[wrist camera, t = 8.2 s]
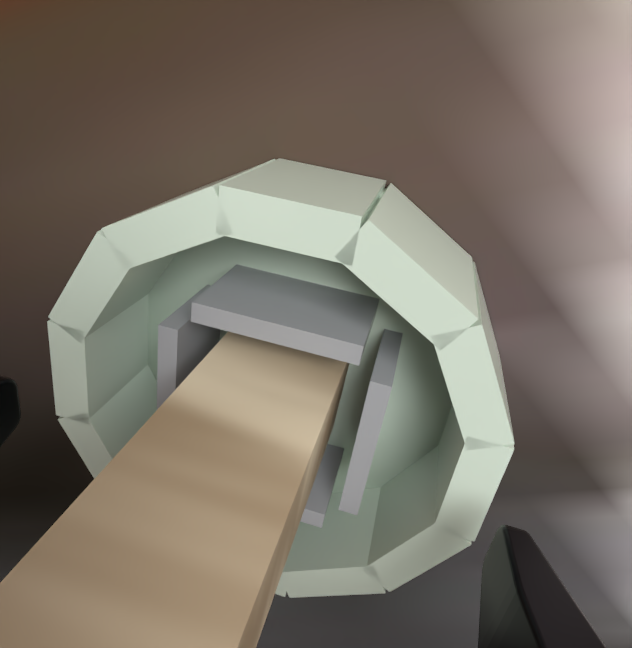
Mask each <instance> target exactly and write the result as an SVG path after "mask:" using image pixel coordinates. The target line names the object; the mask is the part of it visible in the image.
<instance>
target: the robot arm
mask: <svg viewBox="0 0 632 648" xmlns="http://www.w3.org/2000/svg"><path fill="white" fill-rule="evenodd" d="M20 416H21V412H20V404H19V396H18V389H17V384H16V383H15V381H14V380H12V379H11V378H7V377H4V376H1V375H0V447H1V445H2V444H3V443H4V442H5V440H6V439H7V438H8V437H9V435H10V434H11V433H12V432H13V431H14V429H15V428H16V427H17V425H18V423H19V420H20ZM478 648H606V646H605V645H604V643H603V642H602V641H601V639H600V638H599V636H598V635H597V633H596V632H595V630H594V629H593V627H592V626H591V624H590V623H589V621H588V620H587V618H586V617H585V615H584V614H583V612H582V611H581V610H580V608H579V607H578V605H577V604H576V602H575V601H574V599H573V598H572V596H571V595H570V593H569V592H568V590H567V589H566V587H565V586H564V584H563V583H562V581H561V580H560V579H559V577H558V576H557V574H556V573H555V571H554V570H553V568H552V567H551V565H550V564H549V562H548V561H547V559H546V558H545V556H544V555H543V553H542V552H541V550H540V549H539V547H538V546H537V545H536V543H535V542H534V540H533V539H532V537H531V536H530V534H529V533H527V532H526V531H524V530H521V529H518V528H514V527H511V526H508V525H502V526H500V527H499V529H498V530H497V532H496V534H495V537H494V539H493V541H492V543H491V545H490V548H489V550H488V552H487V554H486V556H485V559H484V563H483V569H482V583H481V601H480V620H479V639H478Z"/></svg>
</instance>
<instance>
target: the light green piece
mask: <svg viewBox="0 0 632 648" xmlns="http://www.w3.org/2000/svg"><path fill="white" fill-rule="evenodd" d="M385 184H386V180H381V179H377V178H372V177H367V176H362V175H357V174H353V173H348V172H343V171H338V170H333V169H328V168H324V167H319V166H314V165H309V164H304V163H300V162H295V161H290V160H285V159H280V158H279V159H277V160H275V159H273V160H270V161H268V162H265V163H262V164H260V165H257V166H255V167H252V168H250V169H247V170H244V171H242V172H239V173H237V174H234V175H231V176H229V177H226V178H224V179H221V180H218V181H216V182H213V183H211V184H208V185H206V186H203V187H200V188H198V189H195V190H193V191H190V192H187V193H185V194H183V195H180V196H178V197H175V198H173V199H170V200H168V201H166V202H163V203H161V204H158V205H156V206H154V207H151V208H149V209H146V210H144V211H142V212H139V213H137V214H134V215H132V216H130V217H127V218H125V219H122V220H120V221H117V222H115V223H113V224H110V225H108V226H105V227H103V228H101V229H102V230H100V231H97V233H96V235H95V237H94V238H93V240H92V242H91V243H90V245H89V247H88V249H87V250H86V252H85V254H84V256H83V257H82V259H81V261H80V262H79V264H78V266H77V268H76V269H75V271H74V273H73V275H72V276H71V278H70V280H69V281H68V283H67V285H66V287H65V288H64V290H63V292H62V294H61V295H60V297H59V299H58V301H57V302H56V304H55V306H54V307H53V309H52V311H51V313H50V314H49V316H48V317H49V318H50V320H49V321H47V324H48V335H49V346H50V357H51V367H52V378H53V389H54V399H55V410H56V415H57V416H61V417H59V418H58V421H59V423H60V424H61V426H62V427H63V429H64V431H65V432H66V434H67V435H68V437H69V439H70V440H71V442H72V444H73V445H74V447H75V448H76V450H77V452H78V453H79V455H80V457H81V458H82V460H83V461H84V463H85V465H86V466H87V468H88V469H89V471H90V473H91V474H92V476H93V478H94V479H95V478H96V477H97V476H98V474H99V473H100V472H101V471H102V470H103V469H104V468H105V467H106V466H107V465H108V463H109V462H110V461H111V460H112V459H113V458H114V457H115V456H116V455H117V454H118V452H119V451H120V450H121V449H122V448H123V447H124V446H125V445H126V444H127V442H128V441H129V440H130V439H131V438H132V437H133V436H134V435H135V434H136V433H137V431H138V430H139V429H140V428H141V427H142V426H143V425H144V424H145V423H146V422H147V420H148V419H149V418H150V417H151V416H152V415H153V414H154V413H155V412H156V411H157V409H158V408H159V407H160V406H161V405H162V404H163V403H164V402H165V401H166V399H167V398H168V397H169V396H170V395H171V394H172V393H173V392H174V391H175V390H176V388H177V387H178V386H179V385H180V384H181V383H182V382H183V381H184V380H185V379H186V377H187V376H188V375H189V374H190V373H191V372H192V371H193V370H194V369H195V368H196V366H197V365H198V364H199V363H200V362H201V361H202V360H203V359H204V358H205V357H206V355H207V354H208V353H209V352H210V351H211V350H212V349H213V348H214V347H215V345H216V344H217V343H218V342H219V341H220V340H221V339H222V338H223V337H224V336H225V334H226V333H227V332H228V331H229V332H232V333H236V334H240V335H244V336H248V337H251V338H255V339H259V340H263V341H267V342H271V343H274V344H278V345H282V346H286V347H290V348H293V349H297V350H301V351H305V352H309V353H313V354H316V355H320V356H324V357H328V358H332V359H335V360H339V361H343V362H347V363H349V367H348V371H347V375H346V379H345V383H344V387H343V391H342V395H341V399H340V403H339V407H338V410H337V414H336V418H335V422H334V426H333V429H332V432H331V435H330V438H329V441H328V443H327V446H326V449H325V452H324V455H323V458H322V461H321V463H320V466H319V469H318V472H317V475H316V478H315V481H314V483H313V486H312V489H311V492H310V495H309V498H308V501H307V503H306V506H305V509H304V512H303V515H302V518H301V521H300V523H299V526H298V529H297V532H296V535H295V538H294V541H293V543H292V546H291V549H290V552H289V555H288V558H287V561H286V563H285V566H284V569H283V572H282V575H281V578H280V580H279V583H278V586H277V589H276V592H275V594H277V595H280V596H283V597H285V596H286V593H287V594H288V596H289V598H295V597H316V596H338V595H359V594H380V593H386V589H387V590H388V591H389V592H391V591H393V590H394V589H396V588H398V587H399V586H401V585H403V584H405V583H406V582H408V581H410V580H411V579H413V578H415V577H417V576H418V575H420V574H422V573H424V572H425V571H427V570H429V569H430V568H432V567H434V566H436V565H437V564H439V563H441V562H442V561H444V560H446V559H448V558H449V557H451V556H453V555H455V554H456V553H458V552H460V551H461V550H463V549H465V548H467V547H468V546H470V545H471V541H475V539H476V537H477V534H478V532H479V530H480V527H481V525H482V523H483V520H484V518H485V516H486V514H487V511H488V509H489V507H490V504H491V502H492V500H493V497H494V495H495V493H496V490H497V488H498V486H499V483H500V481H501V479H502V476H503V474H504V472H505V470H506V467H507V465H508V463H509V460H510V458H511V456H512V453H513V451H514V444H515V443H514V437H513V431H512V425H511V419H510V414H509V408H508V402H507V396H506V390H505V385H504V379H503V373H502V367H501V361H500V356H499V352H498V348H497V344H496V341H495V337H494V333H493V329H492V326H491V322H490V318H489V314H488V311H487V307H486V303H485V299H484V296H483V292H482V288H481V284H480V281H479V277H478V273H477V269H476V266H475V262H472V257H471V256H470V255H469V254H468V253H467V252H466V251H464V250H463V249H462V248H461V247H460V246H459V245H458V244H457V243H456V242H455V241H454V240H453V239H451V238H450V237H449V236H448V235H447V234H446V233H445V232H444V231H443V230H442V229H441V228H439V227H438V226H437V225H436V224H435V223H434V222H433V221H432V220H431V219H430V218H429V217H427V216H426V215H425V214H424V213H423V212H422V211H421V210H420V209H419V208H418V207H417V206H416V205H414V204H413V203H412V202H411V201H410V200H409V199H408V198H407V197H406V196H405V195H404V194H402V193H401V192H400V191H399V190H398V189H397V188H396V187H395V186H394V185H393V184H392V183H390V185H389V186H388V187H387V188H385Z"/></svg>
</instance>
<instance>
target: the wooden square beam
mask: <svg viewBox="0 0 632 648" xmlns="http://www.w3.org/2000/svg"><path fill="white" fill-rule="evenodd" d="M348 367H349V363H347V362H343V361H339V360H335V359H332V358H328V357H324V356H320V355H316V354H313V353H309V352H305V351H301V350H297V349H293V348H290V347H286V346H282V345H278V344H274V343H271V342H267V341H263V340H259V339H255V338H251V337H248V336H244V335H240V334H236V333H232V332H229V331H228V332H227V333H226V334H225V336H224V337H223V338H222V339H221V340H220V341H219V342H218V343H217V344H216V345H215V347H214V348H213V349H212V350H211V351H210V352H209V353H208V354H207V355H206V357H205V358H204V359H203V360H202V361H201V362H200V363H199V364H198V365H197V366H196V368H195V369H194V370H193V371H192V372H191V373H190V374H189V375H188V376H187V377H186V379H185V380H184V381H183V382H182V383H181V384H180V385H179V386H178V387H177V388H176V390H175V391H174V392H173V393H172V394H171V395H170V396H169V397H168V398H167V399H166V401H165V402H164V403H163V404H162V405H161V406H160V407H159V408H158V409H157V411H156V412H155V413H154V414H153V415H152V416H151V417H150V418H149V419H148V420H147V422H146V423H145V424H144V425H143V426H142V427H141V428H140V429H139V430H138V431H137V433H136V434H135V435H134V436H133V437H132V438H131V439H130V440H129V441H128V442H127V444H126V445H125V446H124V447H123V448H122V449H121V450H120V451H119V452H118V454H117V455H116V456H115V457H114V458H113V459H112V460H111V461H110V462H109V463H108V465H107V466H106V467H105V468H104V469H103V470H102V471H101V472H100V473H99V474H98V476H97V477H96V478H95V479H94V480H93V481H92V482H91V483H90V484H89V485H88V487H87V488H86V489H85V490H84V491H83V492H82V493H81V494H80V495H79V497H78V498H77V499H76V500H75V501H74V502H73V503H72V504H71V505H70V506H69V508H68V509H67V510H66V511H65V512H64V513H63V514H62V515H61V516H60V517H59V519H58V520H57V521H56V522H55V523H54V524H53V525H52V526H51V527H50V528H49V530H48V531H47V532H46V533H45V534H44V535H43V536H42V537H41V538H40V540H39V541H38V542H37V543H36V544H35V545H34V546H33V547H32V548H31V549H30V551H29V552H28V553H27V554H26V555H25V556H24V557H23V558H22V559H21V560H20V562H19V563H18V564H17V565H16V566H15V567H14V568H13V569H12V570H11V571H10V573H9V574H8V575H7V576H6V577H5V578H4V579H3V580H2V581H1V582H0V648H256V646H257V643H258V640H259V638H260V635H261V632H262V629H263V626H264V623H265V620H266V618H267V615H268V612H269V609H270V606H271V603H272V600H273V598H274V595H275V592H276V589H277V586H278V583H279V580H280V578H281V575H282V572H283V569H284V566H285V563H286V561H287V558H288V555H289V552H290V549H291V546H292V543H293V541H294V538H295V535H296V532H297V529H298V526H299V523H300V521H301V518H302V515H303V512H304V509H305V506H306V503H307V501H308V498H309V495H310V492H311V489H312V486H313V483H314V481H315V478H316V475H317V472H318V469H319V466H320V463H321V461H322V458H323V455H324V452H325V449H326V446H327V443H328V441H329V438H330V435H331V432H332V429H333V426H334V422H335V418H336V414H337V410H338V407H339V403H340V399H341V395H342V391H343V387H344V383H345V379H346V375H347V371H348Z"/></svg>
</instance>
